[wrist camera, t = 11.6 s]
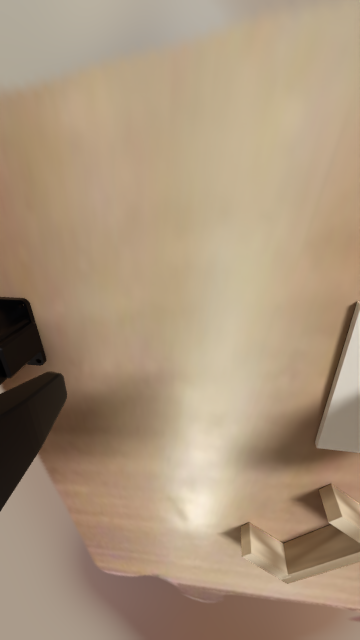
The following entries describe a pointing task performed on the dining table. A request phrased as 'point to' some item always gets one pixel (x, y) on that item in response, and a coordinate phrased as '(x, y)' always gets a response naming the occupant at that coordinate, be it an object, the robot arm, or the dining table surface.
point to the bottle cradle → (309, 542)
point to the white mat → (344, 397)
